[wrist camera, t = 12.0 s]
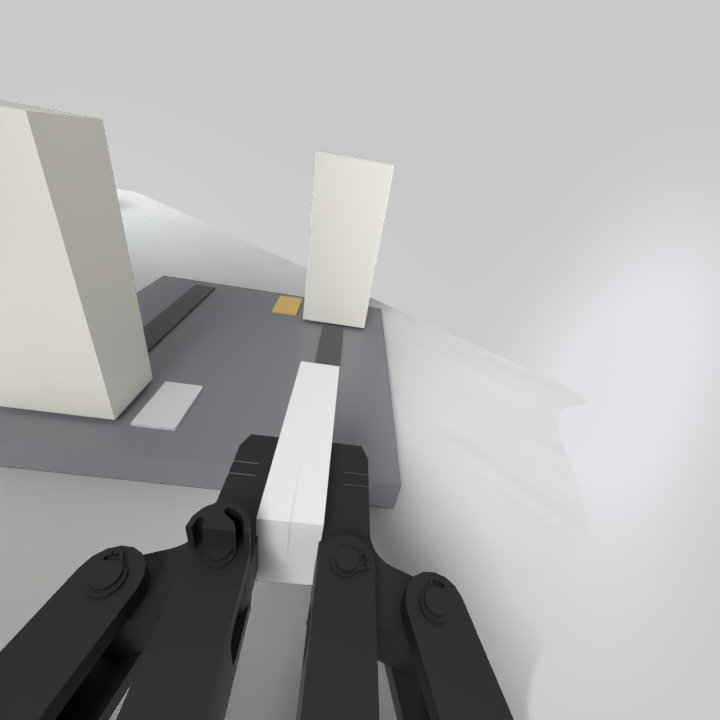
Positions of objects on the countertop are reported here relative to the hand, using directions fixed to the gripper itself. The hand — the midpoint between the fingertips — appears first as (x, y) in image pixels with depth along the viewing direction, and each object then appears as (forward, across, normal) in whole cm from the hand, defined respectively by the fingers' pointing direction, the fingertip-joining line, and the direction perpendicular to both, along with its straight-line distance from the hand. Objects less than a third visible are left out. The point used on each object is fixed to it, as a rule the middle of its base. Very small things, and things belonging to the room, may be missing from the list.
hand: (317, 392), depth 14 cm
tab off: (+5, -14, -6) cm, 16 cm away
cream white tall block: (+21, 0, -6) cm, 22 cm away
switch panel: (+13, -7, -8) cm, 17 cm away
